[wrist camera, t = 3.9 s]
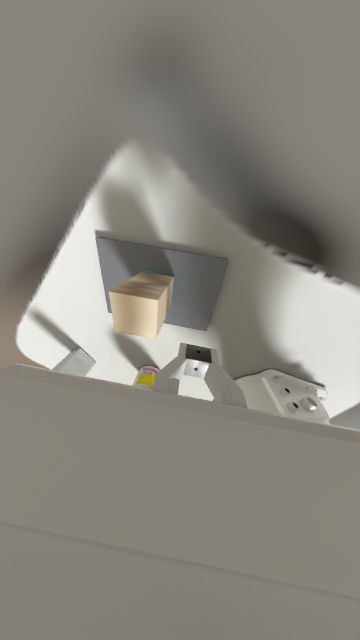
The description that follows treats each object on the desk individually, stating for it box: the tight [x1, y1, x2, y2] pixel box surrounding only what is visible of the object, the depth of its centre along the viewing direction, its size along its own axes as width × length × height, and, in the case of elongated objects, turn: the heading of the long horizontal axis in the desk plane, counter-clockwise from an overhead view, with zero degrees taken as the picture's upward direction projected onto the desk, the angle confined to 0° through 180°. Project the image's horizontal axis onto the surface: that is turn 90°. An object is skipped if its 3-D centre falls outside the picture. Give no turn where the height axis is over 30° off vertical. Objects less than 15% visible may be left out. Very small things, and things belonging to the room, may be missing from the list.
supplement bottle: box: [132, 366, 160, 390], centre depth 32 cm, size 7×7×13 cm
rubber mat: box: [96, 238, 228, 331], centre depth 24 cm, size 20×13×1 cm, turn 82°
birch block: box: [109, 270, 175, 339], centre depth 19 cm, size 5×5×10 cm
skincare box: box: [52, 348, 96, 377], centre depth 32 cm, size 6×4×12 cm
